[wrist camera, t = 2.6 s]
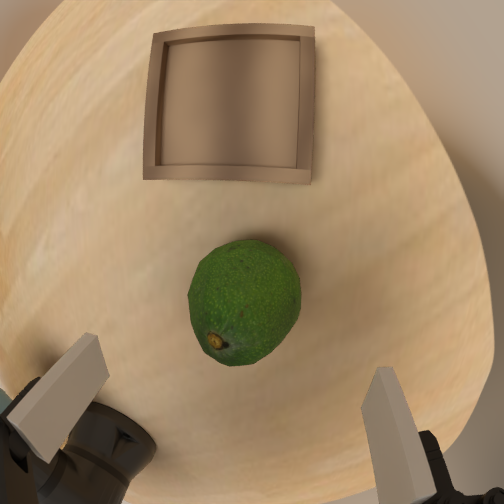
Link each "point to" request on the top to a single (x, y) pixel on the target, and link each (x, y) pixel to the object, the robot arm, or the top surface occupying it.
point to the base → (231, 103)
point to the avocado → (243, 301)
